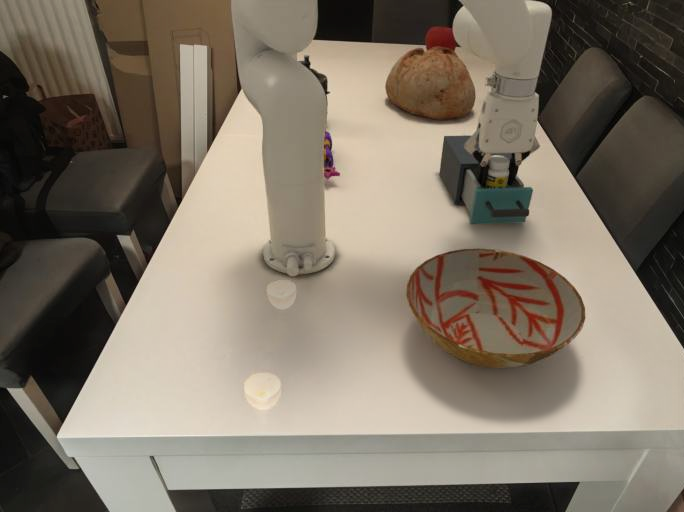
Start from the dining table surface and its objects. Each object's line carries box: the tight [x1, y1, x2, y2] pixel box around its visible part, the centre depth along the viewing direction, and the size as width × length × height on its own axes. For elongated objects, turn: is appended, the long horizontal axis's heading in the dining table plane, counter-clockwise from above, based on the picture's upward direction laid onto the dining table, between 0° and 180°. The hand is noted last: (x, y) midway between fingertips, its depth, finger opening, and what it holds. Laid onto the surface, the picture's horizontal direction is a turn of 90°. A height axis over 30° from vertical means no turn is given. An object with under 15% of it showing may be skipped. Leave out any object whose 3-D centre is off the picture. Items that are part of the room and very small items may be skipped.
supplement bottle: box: [481, 155, 510, 189], centre depth 107 cm, size 5×5×8 cm
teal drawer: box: [460, 168, 534, 225], centre depth 108 cm, size 18×11×7 cm, turn 8°
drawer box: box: [439, 134, 520, 205], centre depth 117 cm, size 14×12×9 cm
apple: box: [424, 26, 458, 52], centre depth 188 cm, size 11×11×12 cm
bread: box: [384, 46, 476, 121], centre depth 153 cm, size 26×23×15 cm
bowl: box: [406, 248, 586, 369], centre depth 80 cm, size 25×25×8 cm
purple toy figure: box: [324, 130, 341, 180], centre depth 122 cm, size 14×25×12 cm, turn 5°
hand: (494, 181), depth 107 cm, fingers closed on supplement bottle, 4 cm apart
